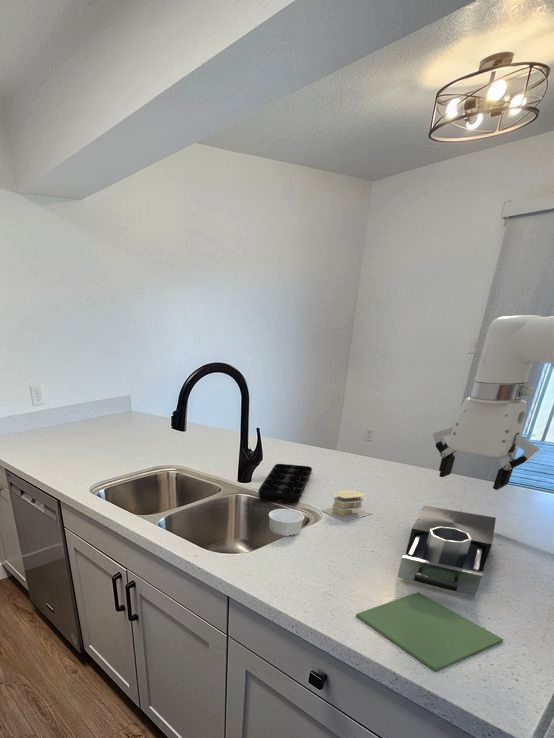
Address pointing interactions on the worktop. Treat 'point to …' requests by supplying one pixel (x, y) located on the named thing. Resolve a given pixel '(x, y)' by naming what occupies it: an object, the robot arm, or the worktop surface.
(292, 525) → the ramekin
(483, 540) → the box
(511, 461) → the robot arm
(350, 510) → the stacked layers on plate
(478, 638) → the mat
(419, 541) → the drawer
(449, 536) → the cup
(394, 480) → the worktop surface
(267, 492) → the egg carton
